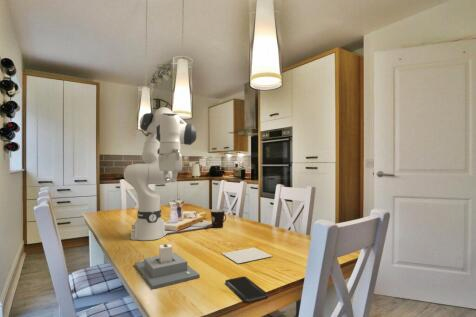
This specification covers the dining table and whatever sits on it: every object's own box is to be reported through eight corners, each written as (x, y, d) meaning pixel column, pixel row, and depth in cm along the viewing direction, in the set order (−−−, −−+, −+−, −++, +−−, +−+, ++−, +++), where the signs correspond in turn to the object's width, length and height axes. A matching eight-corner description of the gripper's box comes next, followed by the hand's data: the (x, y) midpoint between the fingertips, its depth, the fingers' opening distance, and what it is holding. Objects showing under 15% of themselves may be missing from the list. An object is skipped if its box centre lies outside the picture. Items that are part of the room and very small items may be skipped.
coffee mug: (209, 226, 172) (209, 209, 172) (222, 225, 175) (222, 209, 175) (213, 230, 161) (213, 213, 161) (227, 229, 164) (227, 212, 164)
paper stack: (287, 264, 107) (287, 263, 107) (230, 278, 94) (230, 276, 94) (254, 248, 127) (254, 247, 127) (203, 258, 115) (203, 256, 115)
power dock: (134, 265, 106) (134, 254, 106) (174, 257, 115) (174, 247, 115) (152, 289, 86) (152, 276, 86) (199, 277, 95) (199, 265, 95)
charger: (159, 267, 101) (159, 244, 101) (170, 265, 103) (170, 243, 103) (160, 271, 98) (160, 247, 98) (172, 269, 99) (172, 246, 99)
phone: (245, 300, 77) (224, 280, 90) (245, 304, 77) (224, 283, 90) (269, 294, 81) (245, 275, 94) (269, 298, 81) (245, 279, 94)
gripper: (186, 149, 113) (186, 182, 113) (169, 151, 131) (169, 180, 130) (171, 148, 110) (171, 183, 110) (156, 150, 127) (156, 180, 127)
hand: (170, 181), depth 120 cm, fingers open, 8 cm apart
